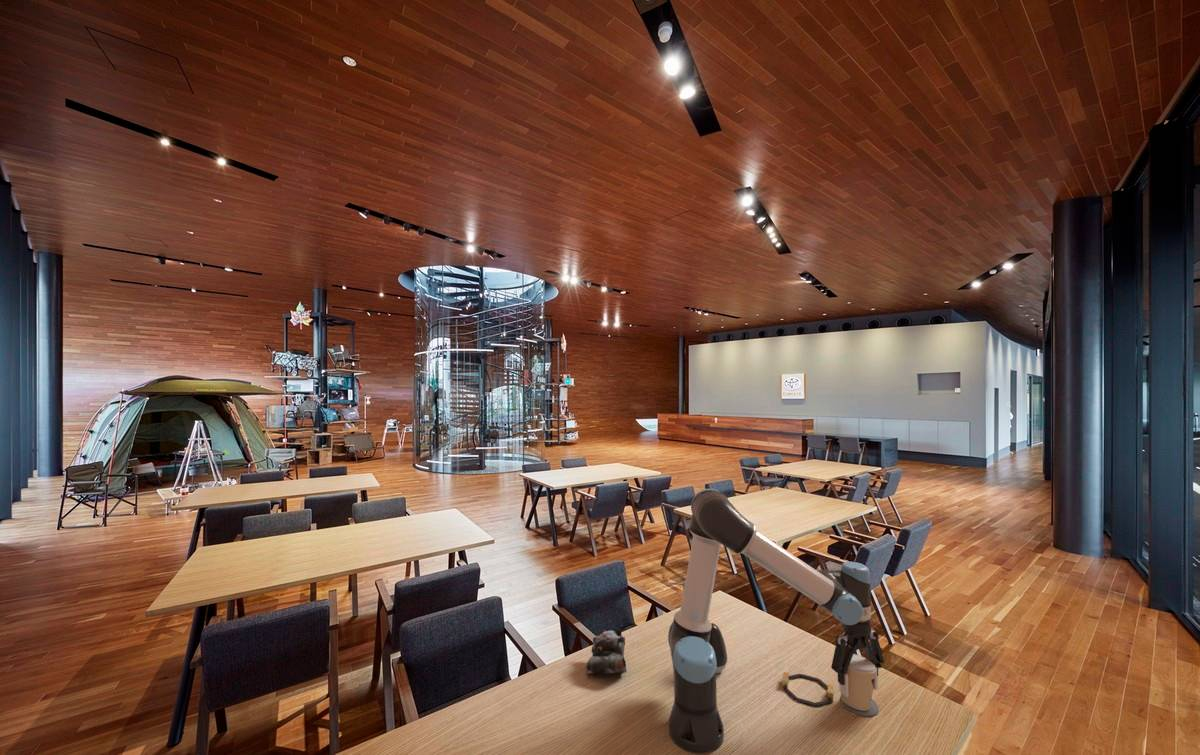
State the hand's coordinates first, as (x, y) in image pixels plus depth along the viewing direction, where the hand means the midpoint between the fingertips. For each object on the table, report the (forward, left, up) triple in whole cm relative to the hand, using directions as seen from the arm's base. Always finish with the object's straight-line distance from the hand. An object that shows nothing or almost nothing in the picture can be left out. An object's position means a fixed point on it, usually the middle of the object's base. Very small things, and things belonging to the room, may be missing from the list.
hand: (858, 690), depth 137 cm
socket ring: (-10, +10, -4) cm, 15 cm away
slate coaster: (0, 0, -4) cm, 4 cm away
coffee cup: (-1, 0, -3) cm, 4 cm away
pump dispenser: (-33, +29, -4) cm, 44 cm away
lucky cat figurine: (-68, +39, -4) cm, 78 cm away
